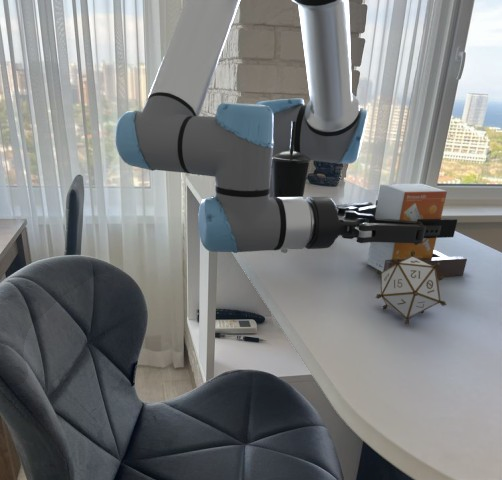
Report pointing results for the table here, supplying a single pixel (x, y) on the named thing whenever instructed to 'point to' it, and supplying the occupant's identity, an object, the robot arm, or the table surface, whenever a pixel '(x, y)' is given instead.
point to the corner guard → (447, 264)
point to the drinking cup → (289, 171)
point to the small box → (406, 219)
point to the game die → (410, 286)
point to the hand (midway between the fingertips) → (435, 220)
